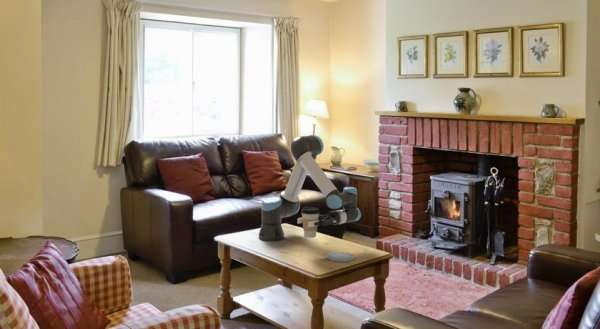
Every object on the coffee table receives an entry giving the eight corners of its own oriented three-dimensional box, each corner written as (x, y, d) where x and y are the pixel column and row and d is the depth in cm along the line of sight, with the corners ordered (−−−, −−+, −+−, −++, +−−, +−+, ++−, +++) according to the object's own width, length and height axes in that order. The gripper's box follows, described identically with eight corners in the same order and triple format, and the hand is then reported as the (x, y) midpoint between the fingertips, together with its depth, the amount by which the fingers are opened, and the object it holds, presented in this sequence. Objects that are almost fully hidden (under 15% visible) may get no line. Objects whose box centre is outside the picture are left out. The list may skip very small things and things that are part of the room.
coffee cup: (317, 239, 304) (318, 211, 302) (299, 238, 306) (299, 210, 304) (320, 234, 313) (321, 207, 311) (302, 233, 315) (303, 206, 313)
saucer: (328, 253, 312) (329, 251, 312) (355, 255, 310) (355, 252, 310) (326, 261, 298) (326, 258, 298) (353, 262, 296) (353, 260, 296)
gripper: (349, 228, 311) (315, 234, 298) (324, 220, 328) (291, 225, 315) (349, 214, 310) (315, 219, 297) (324, 207, 327) (291, 212, 314)
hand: (303, 222), depth 306 cm, fingers closed on coffee cup, 9 cm apart
